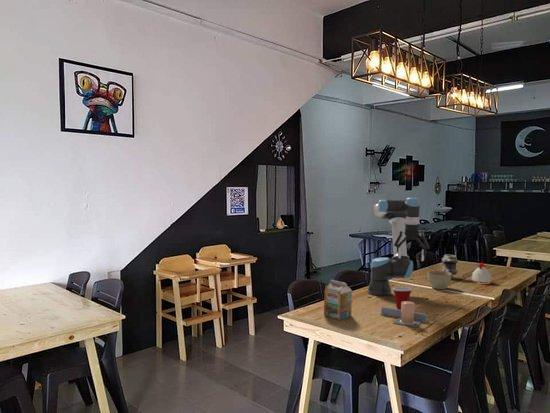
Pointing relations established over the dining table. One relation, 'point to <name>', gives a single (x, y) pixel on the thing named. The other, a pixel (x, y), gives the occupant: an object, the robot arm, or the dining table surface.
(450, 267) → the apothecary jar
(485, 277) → the kitchen timer
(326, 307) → the milk carton
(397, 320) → the resting mat
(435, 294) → the dining table surface
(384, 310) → the divider wall
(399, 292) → the plastic cup
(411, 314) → the beige small cylinder
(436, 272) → the planter bowl
